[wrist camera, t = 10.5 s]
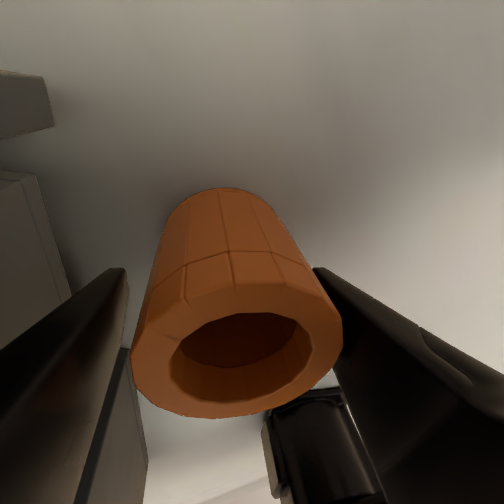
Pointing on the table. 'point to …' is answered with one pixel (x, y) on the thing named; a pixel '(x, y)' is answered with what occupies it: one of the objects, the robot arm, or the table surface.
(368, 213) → the table surface
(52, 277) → the drawer
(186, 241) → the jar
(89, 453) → the cabinet
